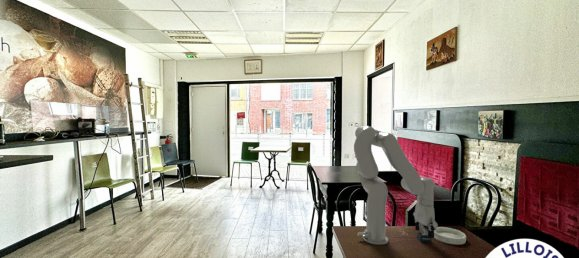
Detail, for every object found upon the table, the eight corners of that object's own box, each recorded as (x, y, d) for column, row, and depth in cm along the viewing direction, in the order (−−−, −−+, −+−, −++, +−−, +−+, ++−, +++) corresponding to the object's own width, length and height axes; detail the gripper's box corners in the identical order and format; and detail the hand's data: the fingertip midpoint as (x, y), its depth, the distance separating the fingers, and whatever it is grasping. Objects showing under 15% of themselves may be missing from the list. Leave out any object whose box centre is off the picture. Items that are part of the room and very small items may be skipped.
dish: (447, 245, 138) (447, 239, 138) (426, 233, 153) (426, 228, 153) (472, 243, 141) (473, 237, 141) (450, 231, 156) (450, 226, 156)
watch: (422, 243, 140) (422, 222, 140) (415, 236, 148) (415, 216, 148) (433, 243, 140) (433, 222, 139) (425, 237, 148) (426, 217, 147)
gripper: (408, 197, 151) (407, 228, 152) (430, 207, 134) (429, 241, 135) (420, 196, 152) (419, 227, 153) (443, 206, 135) (442, 240, 136)
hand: (424, 233), depth 144 cm, fingers open, 9 cm apart
